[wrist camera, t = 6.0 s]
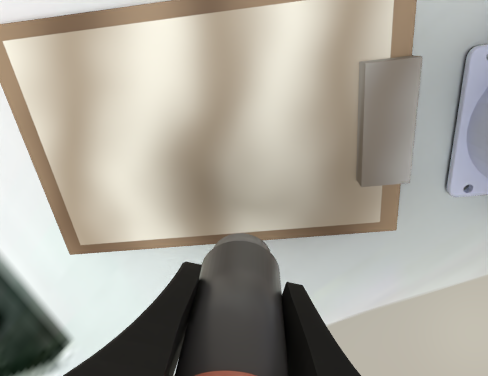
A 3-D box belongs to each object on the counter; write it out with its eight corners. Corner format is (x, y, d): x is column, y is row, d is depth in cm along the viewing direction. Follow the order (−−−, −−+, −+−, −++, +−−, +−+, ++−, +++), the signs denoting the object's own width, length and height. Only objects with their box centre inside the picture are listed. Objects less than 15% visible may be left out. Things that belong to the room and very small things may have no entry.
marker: (253, 212, 13) (248, 396, 7) (293, 268, 14) (324, 475, 8) (188, 247, 14) (124, 442, 7) (230, 298, 15) (209, 507, 9)
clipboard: (407, -29, 15) (432, -40, 13) (388, 219, 20) (403, 240, 18) (-4, 28, 17) (-42, 26, 15) (79, 243, 22) (60, 265, 20)
